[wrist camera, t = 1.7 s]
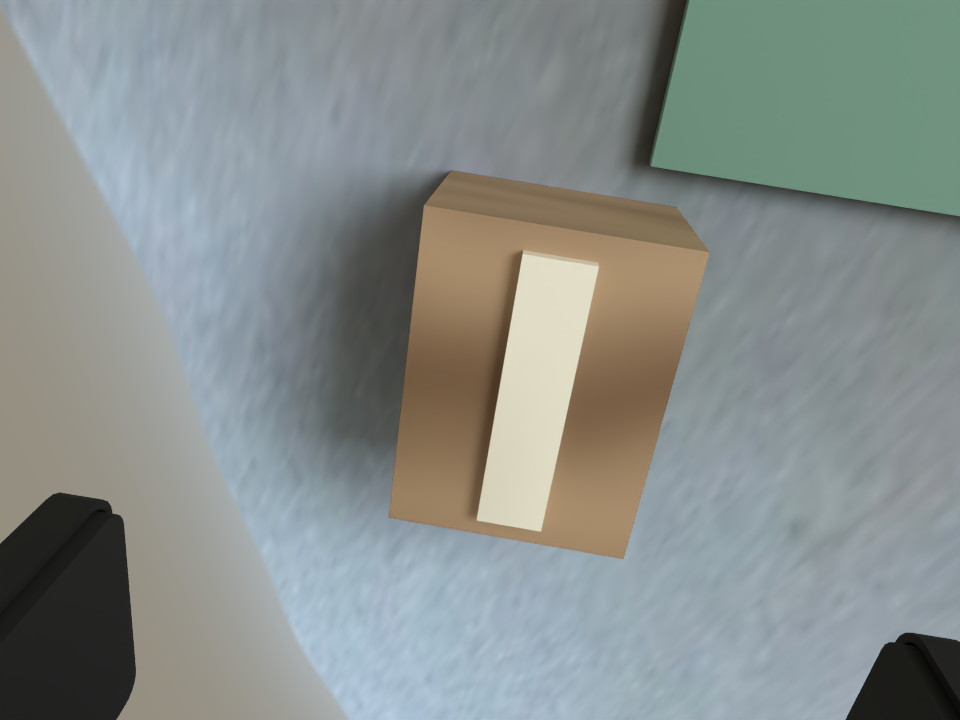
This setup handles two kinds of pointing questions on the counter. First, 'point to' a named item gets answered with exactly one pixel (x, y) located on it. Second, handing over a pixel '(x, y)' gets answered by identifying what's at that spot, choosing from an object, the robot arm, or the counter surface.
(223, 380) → the counter surface
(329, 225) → the counter surface
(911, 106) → the play mat
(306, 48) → the counter surface
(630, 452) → the cardboard box
